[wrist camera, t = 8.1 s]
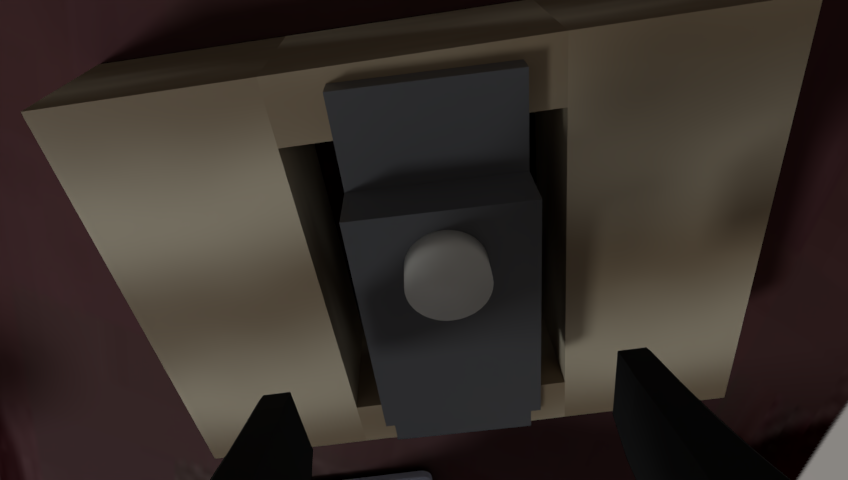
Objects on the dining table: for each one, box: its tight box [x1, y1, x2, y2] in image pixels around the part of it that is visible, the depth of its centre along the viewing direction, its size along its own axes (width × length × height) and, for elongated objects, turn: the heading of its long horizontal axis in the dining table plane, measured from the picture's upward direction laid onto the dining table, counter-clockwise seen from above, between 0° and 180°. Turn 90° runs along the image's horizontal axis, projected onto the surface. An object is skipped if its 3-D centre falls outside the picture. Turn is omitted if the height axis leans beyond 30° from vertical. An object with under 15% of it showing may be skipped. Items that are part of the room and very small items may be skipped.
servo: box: [323, 59, 542, 439], centre depth 16 cm, size 12×4×7 cm, turn 7°
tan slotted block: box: [21, 0, 822, 459], centre depth 17 cm, size 13×18×4 cm
